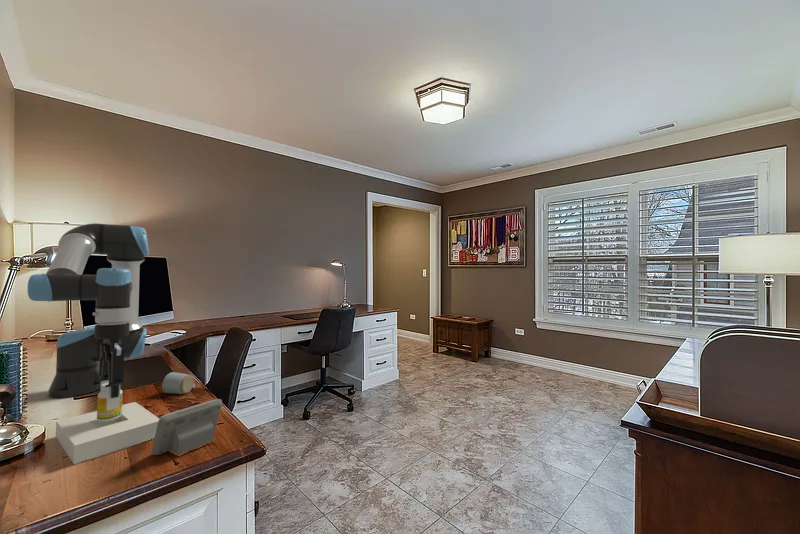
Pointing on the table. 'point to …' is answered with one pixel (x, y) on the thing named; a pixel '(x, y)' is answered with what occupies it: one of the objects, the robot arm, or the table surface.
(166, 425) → the digital clock
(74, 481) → the table surface
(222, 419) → the table surface
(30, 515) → the table surface
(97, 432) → the holder block
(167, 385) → the ceramic mug
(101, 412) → the supplement bottle
